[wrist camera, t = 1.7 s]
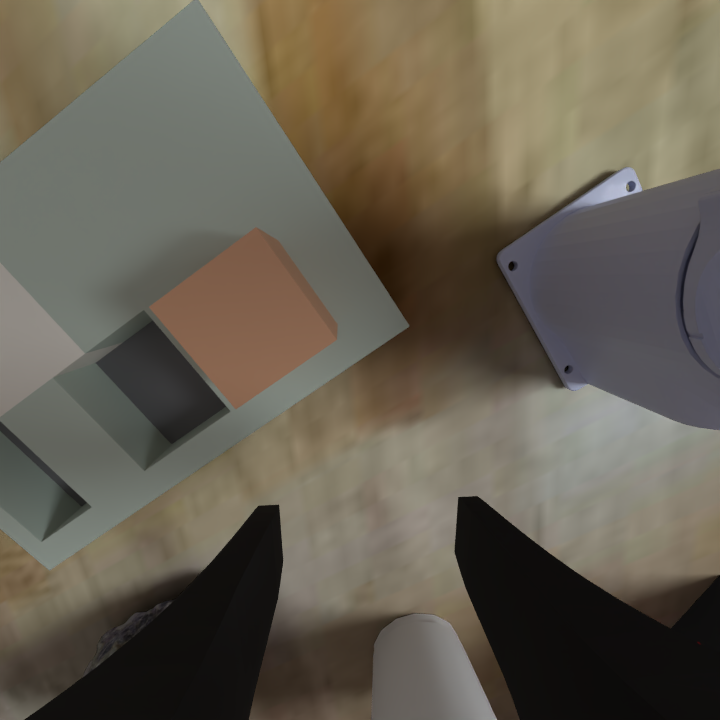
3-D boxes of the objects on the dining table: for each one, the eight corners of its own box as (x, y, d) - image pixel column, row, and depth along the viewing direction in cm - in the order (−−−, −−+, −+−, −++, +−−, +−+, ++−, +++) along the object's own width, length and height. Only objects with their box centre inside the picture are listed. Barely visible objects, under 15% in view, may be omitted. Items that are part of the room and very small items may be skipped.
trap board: (399, 318, 19) (409, 326, 16) (90, 529, 21) (49, 570, 18) (223, 50, 15) (196, -3, 13) (-125, 333, 18) (-218, 344, 15)
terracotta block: (337, 324, 16) (337, 339, 12) (260, 377, 16) (235, 409, 12) (278, 240, 15) (256, 226, 11) (198, 299, 15) (148, 307, 11)
